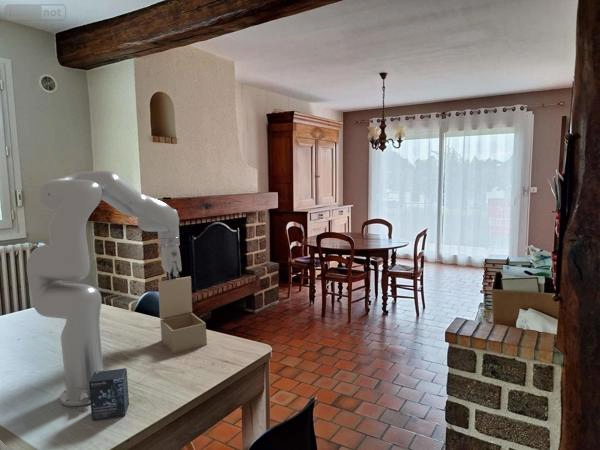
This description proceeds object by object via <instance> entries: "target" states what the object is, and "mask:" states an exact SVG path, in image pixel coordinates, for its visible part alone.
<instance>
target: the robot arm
mask: <svg viewBox="0 0 600 450" xmlns="http://www.w3.org/2000/svg"><path fill="white" fill-rule="evenodd" d="M38 200H39V202H40V204H41V205H42V206H43V207H44V208H46V209H48V210H50V211H53V212H54V214H53V215H52V217H51V219H50V221H49V224H48V237H49V239H48V240H49V244H43V245H40V246H37V247H36V248H35V249H33V250H32V252H30V254H29V256H28V258H27V262H26V272H27V278H28V279H27V280H28V285H29V290H30V295H31V296H30V297H31V301H32V304H33V308H34V310H35V312H36V313H38V314H39V315H40V316H41V317H45V318H51V319H53V318H54V319H63V320H66V321H65V323H64V324H65V325H64V327H63V329H62V331H61V335H60V342H61V343H60V345H61V351H62V352H61V353H62V362H63V364H62V365H63V372H64V381H65V389H64V390H63V391H62V392H61V394H60V396H59V398H60V399H59V400H60V402H61V403H60V404H62V405H64V406H67V407H80V406H86V405H89V404H90V405H91V401H90V389H89V381H90V379H91V377H92V376H93V374H94V372H96V371H104V361H103V350H102V348H103V347H102V338H101V325H100V324H101V322H100V321H101V320H100V318H101V308H102V295H101V292H100V291H99V290H98V289H97V288H96V287H94V286H92V285H89V284H84V283H72V282H75V281H79V280H83V279H85V278H87V276H88V275H89V273H90V270H91V262H90V261H91V259H90V254H89V253H90V252H89V247H88V246H89V245H88V240H87V223H88V220H89V219H90V216H91V214H92V213H93V212H94V210H96V208H97V207H98V206H99V204H100V202H101V201H104V203H106V204H108V205H110V207H112V208H114V209H115V210H117V211H118V212H120V213H121V214H123V215H125V216H129V217H133V218H137V220H136V221H137V223H136V224H137V226H138V228H139V229H140V230H142V231H144V232H150V233H151V232H155V233H157V238H158V239H157V240H158V247H159V248H160V249H161V251H160V254H161V255H160V256H161V259H160V260H161V268H162V270H163V271H165V278H166V280H172V279H178V272H180V273H181V272H182V259H181V251H180V247H179V246H180V244H181V242H180V227H179V225H180V217H179V215H178V214H179V213H178V210H176V209H175V208H172V207H171V206H170V205H169V204H167V203H165V202H163V201H162V200H160V199H158V198H157V199H156V198H155V197H152V196H149V195H147V194H144V193H141V192H140V191H138V190H136V189H135V188H134V187H132V186H131V185H130V184H129V183H128V181H125V180H124V179H123V178H121V177H120V176H119V175H118V174H117V173H115V172H113V171H110V170H109V171H108V170H95V171H93V170H91V171H88V170H87V171H82V172H81V171H80V172H76V173H72V174H70V175H65V176H62V177H58V178H54V179H50V180H47V181H46V182H44V183H43V184H42V185H41V187H40V188H39V190H38ZM166 280H165V281H166ZM63 281H64V282H63ZM65 281H67V282H65ZM69 281H70V282H71V283H69Z"/></svg>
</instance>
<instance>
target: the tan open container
mask: <svg viewBox="0 0 600 450" xmlns="http://www.w3.org/2000/svg"><path fill="white" fill-rule="evenodd" d="M159 323H160V332H161V333H160V335H161V342H162V343H163V344H165V346H166V347H167V348H168V349H169V351H171V353H172V354H173V355H174V354H179V353H181V352H184V351H189V350H192V349H197V348H199V347H204V346H206V345H208V342H207V340H208V339H207V324H206V322H205V321H204V320H202V319H201V318H199V317H198V316H196V314H195V313H193V312H189V313H185V314H180V315H176V316H171V317H166V318H162V319H160V321H159Z"/></svg>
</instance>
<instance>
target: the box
mask: <svg viewBox="0 0 600 450" xmlns="http://www.w3.org/2000/svg"><path fill="white" fill-rule="evenodd" d="M128 383H129V382H128V370H127V368H126V367H125V368H117V369H109V370H108V369H107V370H103V371H96V372H94V374H93V376H92V377H91V379H90V381H89V389H90V401H91V403H90V411H91V421H97V420H106V419H111V418H112V419H113V418H121V417H122V418H123V417H125V416H126V414H127V412H128V408H129V406H130V399H129V384H128Z"/></svg>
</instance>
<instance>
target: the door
mask: <svg viewBox="0 0 600 450" xmlns="http://www.w3.org/2000/svg"><path fill="white" fill-rule="evenodd" d="M192 294H193V293H192V277H191V276H185V277H177V279H172V280H160V281H158V303H159V304H158V305H159V306H158V307H159V319H160V320H161V319H166V318H170V317H175V316H180V315H184V314H189V313H193V301H192V299H193V295H192Z"/></svg>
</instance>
